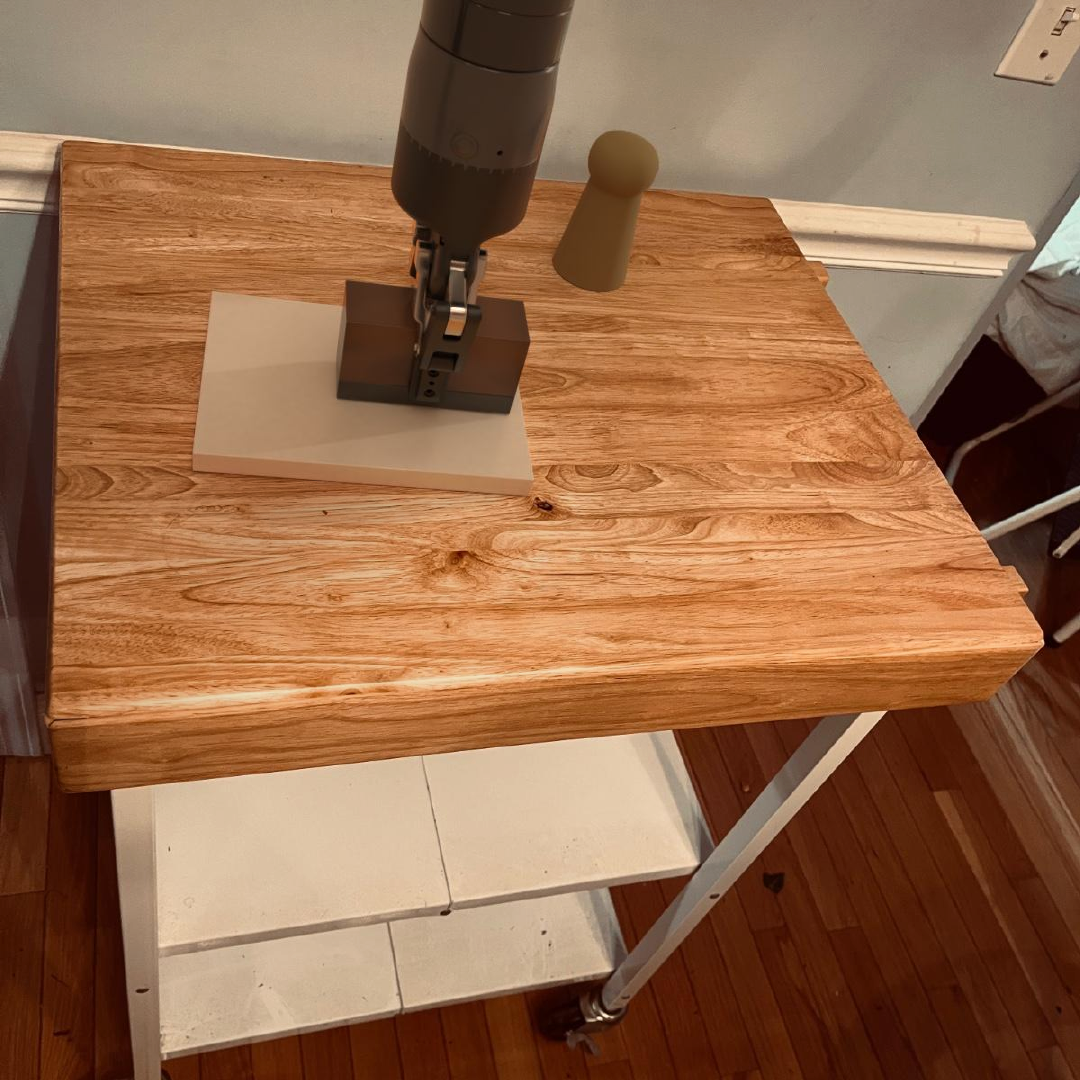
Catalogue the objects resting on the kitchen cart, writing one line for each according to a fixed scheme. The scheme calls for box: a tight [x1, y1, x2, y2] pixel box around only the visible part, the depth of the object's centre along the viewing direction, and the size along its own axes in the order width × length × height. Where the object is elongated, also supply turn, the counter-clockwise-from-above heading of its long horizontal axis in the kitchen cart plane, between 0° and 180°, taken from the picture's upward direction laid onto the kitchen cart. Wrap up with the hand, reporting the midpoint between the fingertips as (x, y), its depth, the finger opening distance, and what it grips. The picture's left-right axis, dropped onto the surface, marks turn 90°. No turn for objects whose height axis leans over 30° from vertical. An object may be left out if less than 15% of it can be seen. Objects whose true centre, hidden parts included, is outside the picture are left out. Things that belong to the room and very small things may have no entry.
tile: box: [191, 290, 535, 497], centre depth 68 cm, size 20×15×2 cm
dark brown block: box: [336, 279, 532, 414], centre depth 66 cm, size 11×4×6 cm, turn 98°
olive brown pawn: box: [552, 129, 660, 293], centre depth 81 cm, size 6×6×11 cm
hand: (423, 373), depth 68 cm, fingers closed on dark brown block, 4 cm apart
